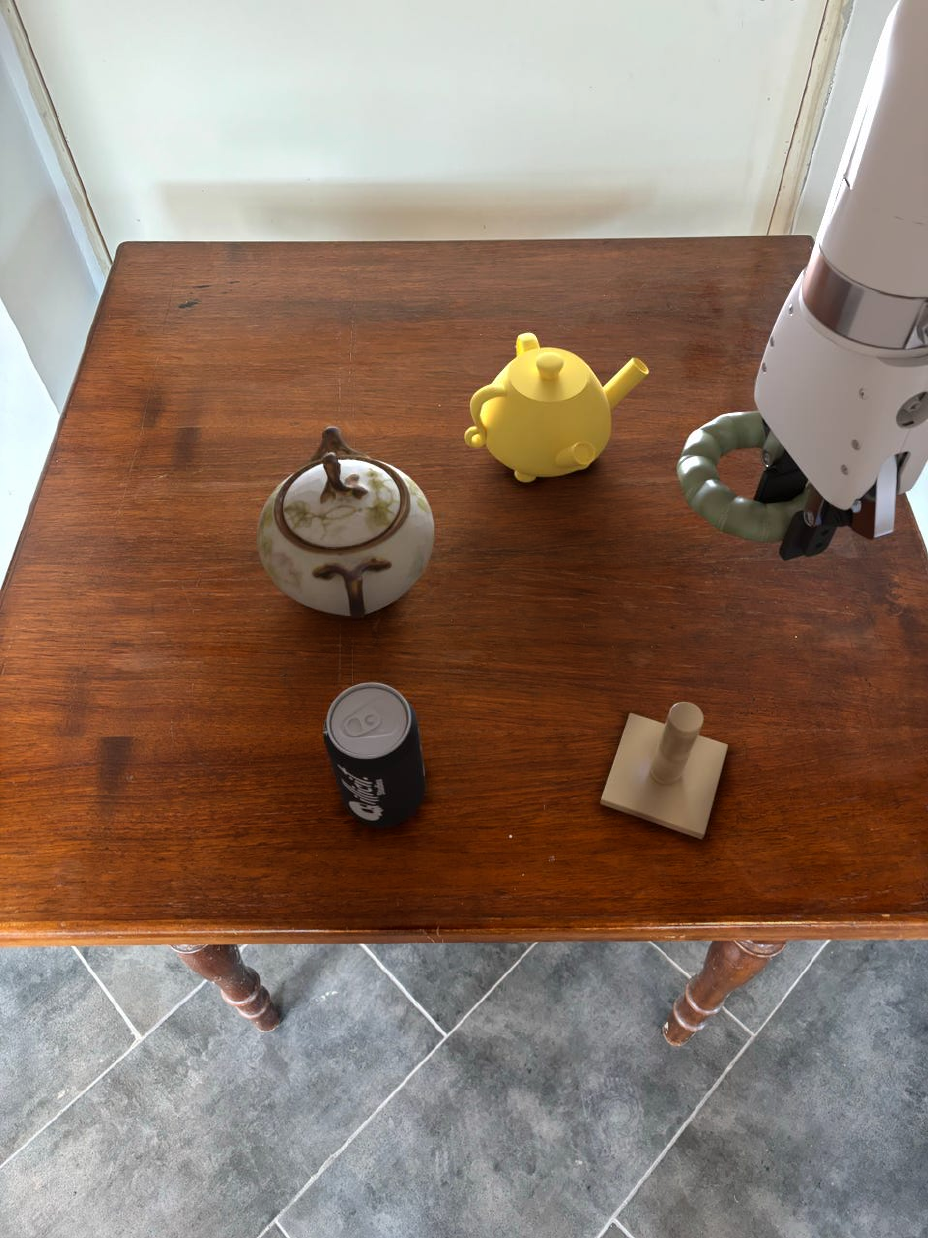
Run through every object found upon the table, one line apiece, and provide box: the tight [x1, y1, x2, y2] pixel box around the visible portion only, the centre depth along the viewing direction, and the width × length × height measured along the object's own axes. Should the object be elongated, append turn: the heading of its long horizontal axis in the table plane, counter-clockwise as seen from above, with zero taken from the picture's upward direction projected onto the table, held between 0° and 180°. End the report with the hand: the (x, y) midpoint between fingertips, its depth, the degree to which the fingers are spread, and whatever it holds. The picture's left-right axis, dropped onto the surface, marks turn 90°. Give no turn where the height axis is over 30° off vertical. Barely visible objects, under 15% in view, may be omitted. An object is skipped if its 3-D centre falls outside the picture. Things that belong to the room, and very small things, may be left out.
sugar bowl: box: [256, 425, 435, 619], centre depth 79 cm, size 20×15×15 cm
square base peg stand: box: [599, 701, 729, 840], centre depth 70 cm, size 8×8×10 cm
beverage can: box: [322, 682, 427, 828], centre depth 69 cm, size 7×7×12 cm
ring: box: [676, 410, 812, 544], centre depth 61 cm, size 10×10×2 cm
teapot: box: [464, 332, 650, 483], centre depth 89 cm, size 14×14×11 cm
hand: (787, 528), depth 60 cm, fingers closed on ring, 2 cm apart
